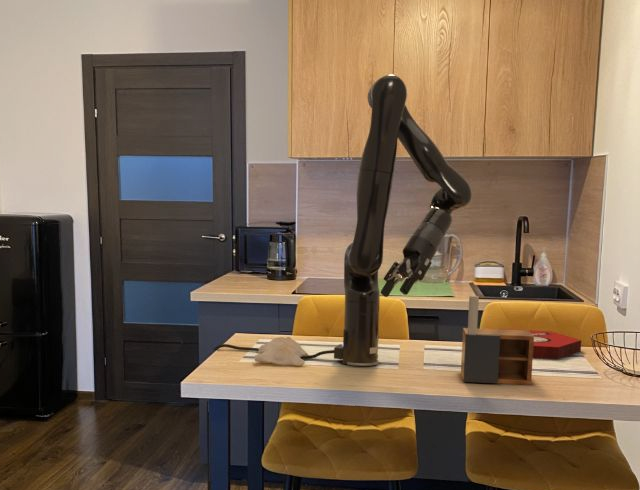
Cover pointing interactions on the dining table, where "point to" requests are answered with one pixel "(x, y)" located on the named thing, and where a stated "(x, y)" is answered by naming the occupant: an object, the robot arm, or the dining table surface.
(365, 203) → the robot arm
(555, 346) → the plaque
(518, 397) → the dining table surface
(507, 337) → the cupboard
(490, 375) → the sliding door
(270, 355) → the arrowhead
